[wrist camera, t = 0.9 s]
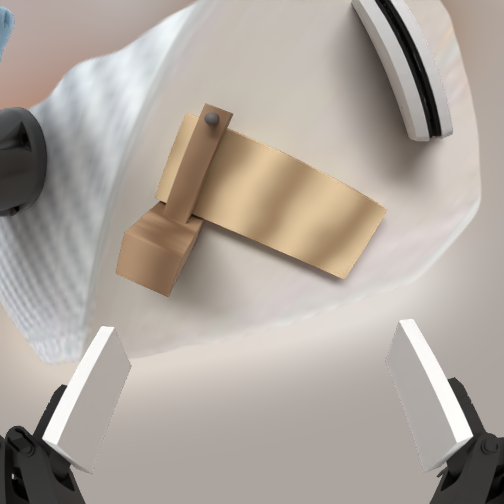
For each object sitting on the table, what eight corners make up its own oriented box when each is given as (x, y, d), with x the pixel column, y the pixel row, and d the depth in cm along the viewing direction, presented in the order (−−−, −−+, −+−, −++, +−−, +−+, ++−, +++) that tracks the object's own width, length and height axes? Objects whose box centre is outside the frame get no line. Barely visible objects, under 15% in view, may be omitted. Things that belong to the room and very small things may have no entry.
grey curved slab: (443, 130, 25) (473, 149, 17) (407, 138, 27) (424, 158, 19) (388, -4, 18) (396, -37, 10) (350, 4, 21) (345, -26, 13)
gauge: (153, 229, 31) (115, 273, 22) (201, 101, 25) (170, 93, 16) (193, 246, 32) (168, 296, 23) (247, 119, 26) (239, 118, 17)
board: (161, 193, 30) (154, 198, 28) (190, 114, 26) (185, 113, 24) (340, 270, 33) (344, 279, 31) (380, 204, 29) (387, 210, 27)
